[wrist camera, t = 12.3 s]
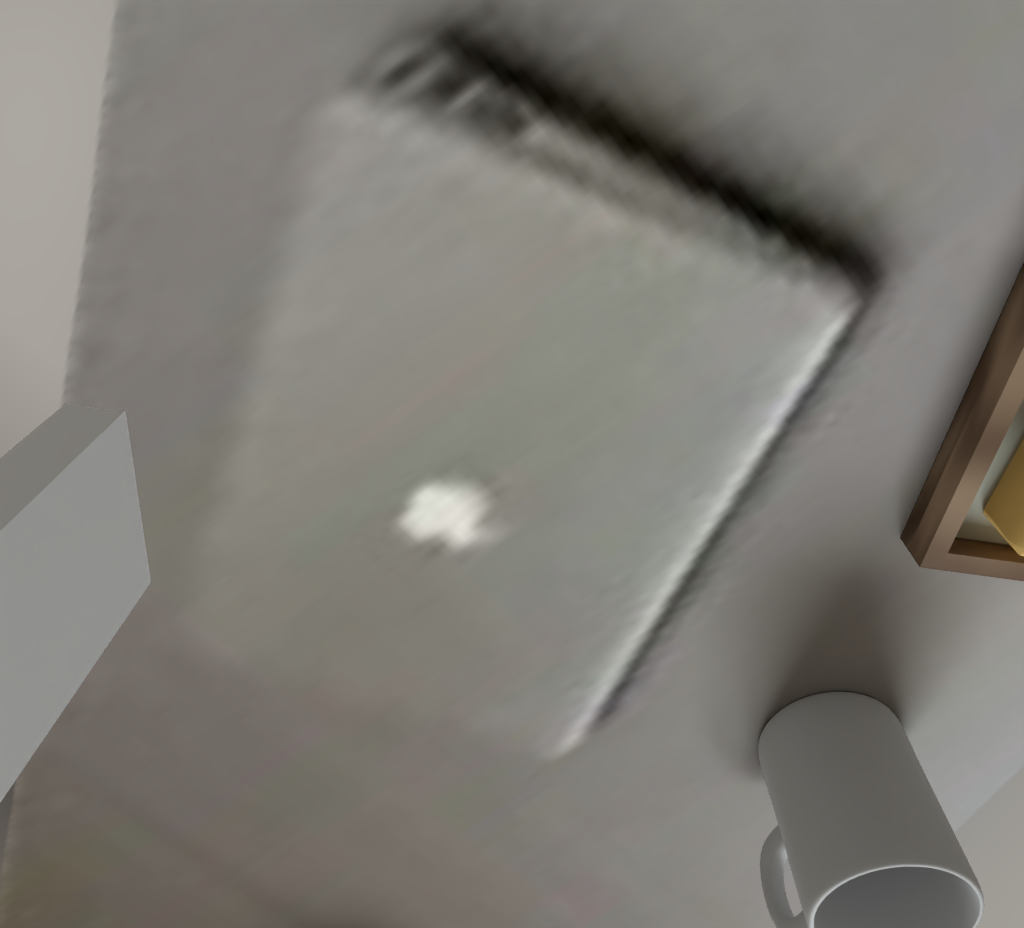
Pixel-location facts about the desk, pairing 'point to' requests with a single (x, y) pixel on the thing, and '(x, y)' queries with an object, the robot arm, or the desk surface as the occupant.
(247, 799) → the desk surface
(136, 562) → the robot arm
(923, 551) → the tray
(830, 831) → the mug
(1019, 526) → the rubber stamp
